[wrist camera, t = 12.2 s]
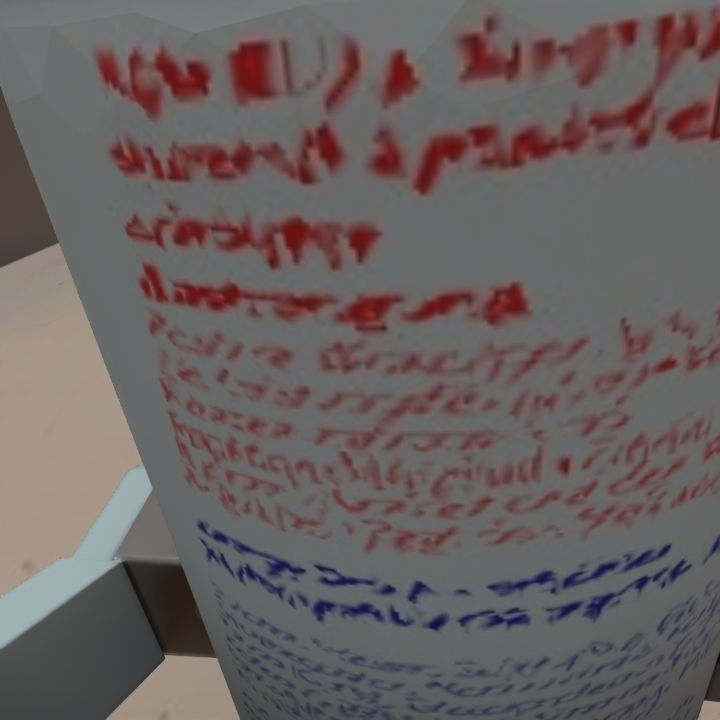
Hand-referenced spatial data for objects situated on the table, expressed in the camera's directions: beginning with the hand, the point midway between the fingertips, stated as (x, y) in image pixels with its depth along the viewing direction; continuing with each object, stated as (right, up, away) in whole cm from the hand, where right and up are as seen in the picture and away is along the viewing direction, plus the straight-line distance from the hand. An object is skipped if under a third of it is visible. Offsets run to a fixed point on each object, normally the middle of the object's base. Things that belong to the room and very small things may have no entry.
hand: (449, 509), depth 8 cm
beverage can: (+1, -7, +4) cm, 8 cm away
